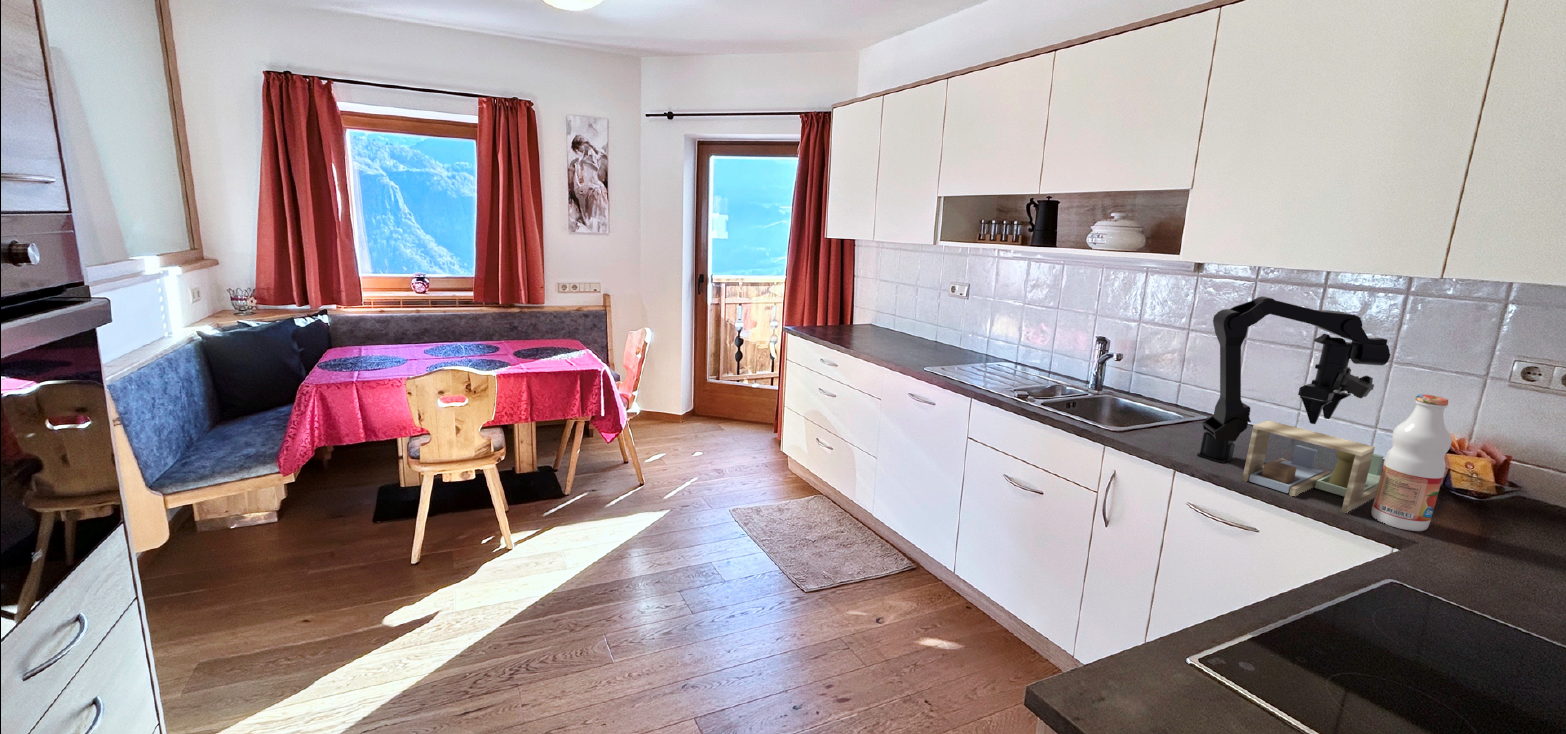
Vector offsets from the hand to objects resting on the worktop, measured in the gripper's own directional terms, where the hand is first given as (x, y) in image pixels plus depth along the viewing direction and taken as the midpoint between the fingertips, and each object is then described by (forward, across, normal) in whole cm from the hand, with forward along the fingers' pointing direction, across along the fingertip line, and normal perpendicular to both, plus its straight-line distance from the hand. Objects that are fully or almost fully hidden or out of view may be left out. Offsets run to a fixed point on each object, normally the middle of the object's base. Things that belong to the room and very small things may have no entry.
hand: (1319, 421), depth 176 cm
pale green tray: (+12, -7, -11) cm, 18 cm away
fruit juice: (+13, -22, -24) cm, 35 cm away
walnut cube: (+13, -22, -1) cm, 26 cm away
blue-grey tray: (+12, -17, -1) cm, 21 cm away
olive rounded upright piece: (+13, -13, -11) cm, 21 cm away
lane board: (+12, -17, -6) cm, 22 cm away
